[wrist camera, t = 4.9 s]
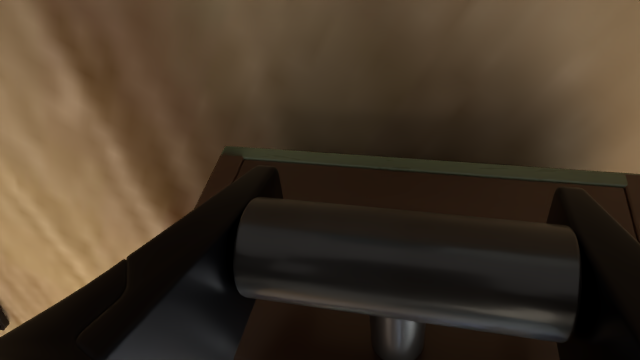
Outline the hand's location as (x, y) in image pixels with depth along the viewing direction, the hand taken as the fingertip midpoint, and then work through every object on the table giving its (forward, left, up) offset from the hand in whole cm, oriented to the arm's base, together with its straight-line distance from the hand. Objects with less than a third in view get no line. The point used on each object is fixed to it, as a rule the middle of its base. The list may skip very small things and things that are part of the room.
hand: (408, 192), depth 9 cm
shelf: (-5, -1, -5) cm, 7 cm away
